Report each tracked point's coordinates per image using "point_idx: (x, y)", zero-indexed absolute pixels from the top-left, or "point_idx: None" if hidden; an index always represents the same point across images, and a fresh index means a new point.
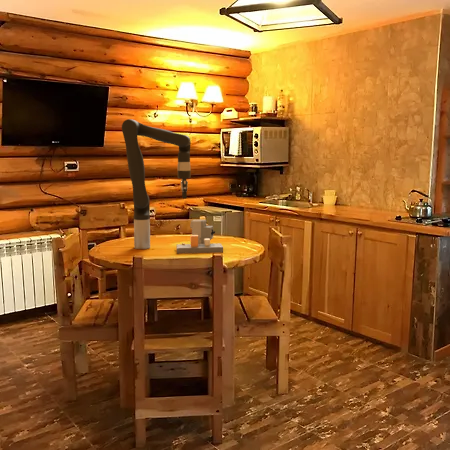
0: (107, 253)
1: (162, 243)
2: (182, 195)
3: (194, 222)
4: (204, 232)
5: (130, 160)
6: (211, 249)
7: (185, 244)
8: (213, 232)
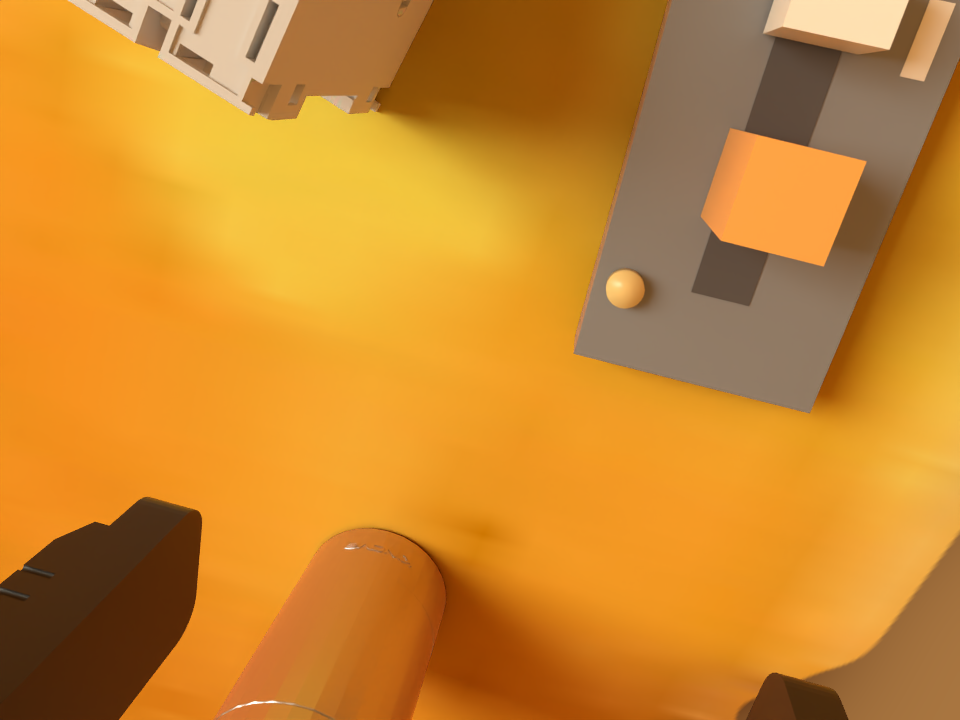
0: None
1: (201, 371)
2: (150, 663)
3: (290, 49)
4: None
5: None
6: None
7: (620, 260)
8: None
